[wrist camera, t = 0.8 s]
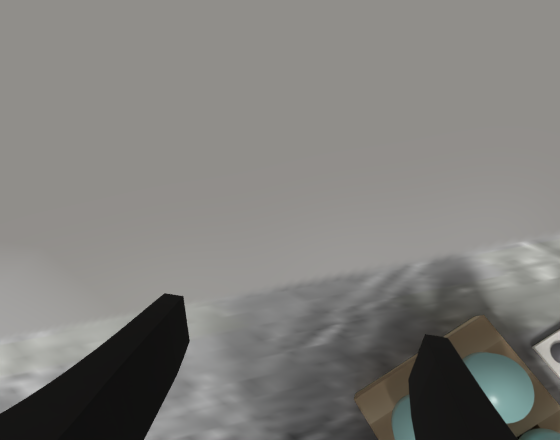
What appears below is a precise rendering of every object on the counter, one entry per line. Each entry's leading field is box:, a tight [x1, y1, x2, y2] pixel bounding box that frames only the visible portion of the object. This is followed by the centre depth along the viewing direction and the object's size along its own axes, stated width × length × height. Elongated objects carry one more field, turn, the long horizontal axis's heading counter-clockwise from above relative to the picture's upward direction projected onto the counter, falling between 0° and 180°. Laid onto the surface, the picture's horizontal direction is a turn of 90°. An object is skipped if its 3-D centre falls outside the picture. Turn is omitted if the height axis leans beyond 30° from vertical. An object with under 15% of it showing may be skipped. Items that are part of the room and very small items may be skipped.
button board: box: [354, 315, 560, 440], centre depth 19 cm, size 9×9×2 cm
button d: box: [462, 352, 534, 423], centre depth 18 cm, size 3×3×4 cm
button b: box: [391, 395, 415, 440], centre depth 18 cm, size 3×3×4 cm
